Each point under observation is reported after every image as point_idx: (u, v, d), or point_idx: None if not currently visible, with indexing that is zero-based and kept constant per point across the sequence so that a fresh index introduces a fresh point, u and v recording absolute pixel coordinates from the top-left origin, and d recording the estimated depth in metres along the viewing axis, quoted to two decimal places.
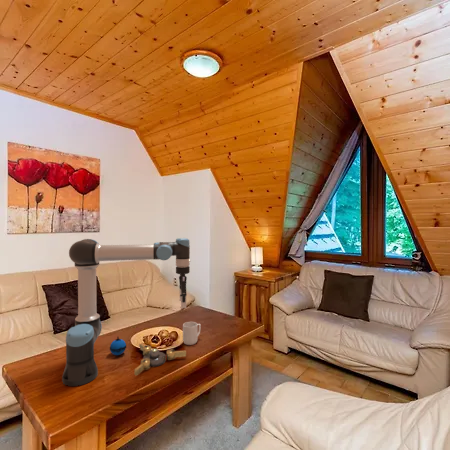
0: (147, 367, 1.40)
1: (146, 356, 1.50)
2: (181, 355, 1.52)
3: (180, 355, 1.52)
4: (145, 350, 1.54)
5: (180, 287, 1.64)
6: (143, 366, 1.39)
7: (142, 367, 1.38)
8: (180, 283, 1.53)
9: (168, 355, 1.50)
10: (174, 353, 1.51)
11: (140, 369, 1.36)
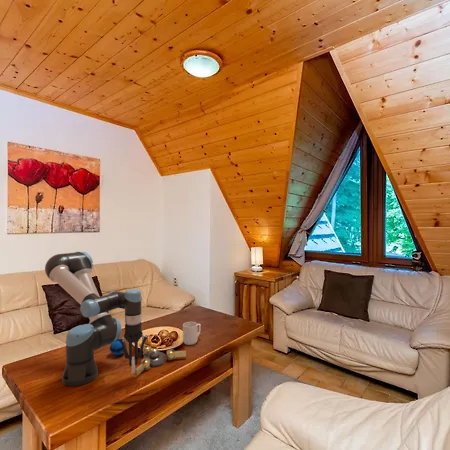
0: (147, 367, 1.40)
1: (146, 356, 1.50)
2: (181, 355, 1.52)
3: (180, 355, 1.52)
4: (145, 350, 1.54)
5: None
6: (143, 366, 1.39)
7: (142, 367, 1.38)
8: None
9: (168, 355, 1.50)
10: (174, 353, 1.51)
11: (140, 369, 1.36)
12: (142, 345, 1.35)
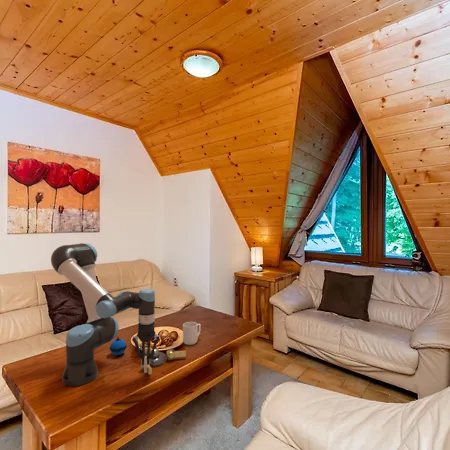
0: (149, 365, 1.42)
1: None
2: (181, 355, 1.52)
3: (180, 355, 1.52)
4: (145, 350, 1.54)
5: None
6: None
7: None
8: None
9: (168, 355, 1.50)
10: (174, 353, 1.51)
11: None
12: (154, 345, 1.36)
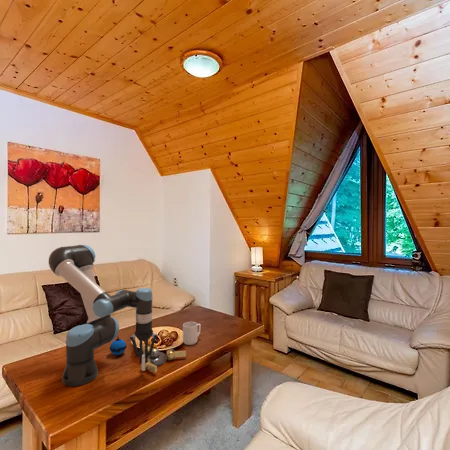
0: None
1: None
2: (181, 355, 1.52)
3: (180, 355, 1.52)
4: None
5: None
6: None
7: None
8: None
9: (168, 355, 1.50)
10: (174, 353, 1.51)
11: None
12: (152, 343, 1.36)
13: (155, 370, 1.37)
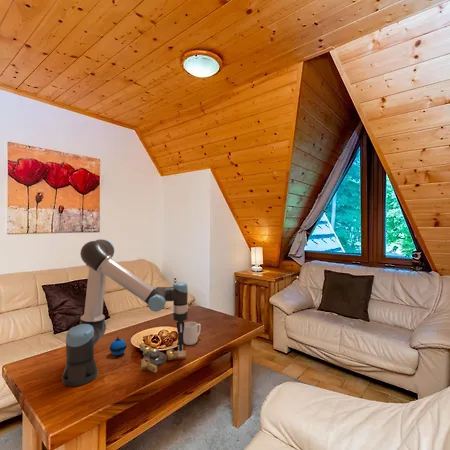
0: None
1: (146, 356, 1.50)
2: None
3: None
4: (145, 350, 1.54)
5: None
6: None
7: None
8: None
9: (168, 355, 1.50)
10: (174, 353, 1.51)
11: None
12: None
13: (155, 370, 1.37)
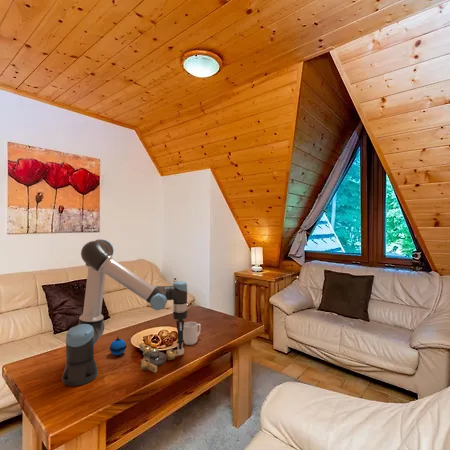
0: None
1: (146, 356, 1.50)
2: None
3: None
4: (145, 350, 1.54)
5: None
6: None
7: None
8: (177, 330, 1.51)
9: (170, 355, 1.49)
10: (175, 352, 1.52)
11: None
12: None
13: (155, 370, 1.37)
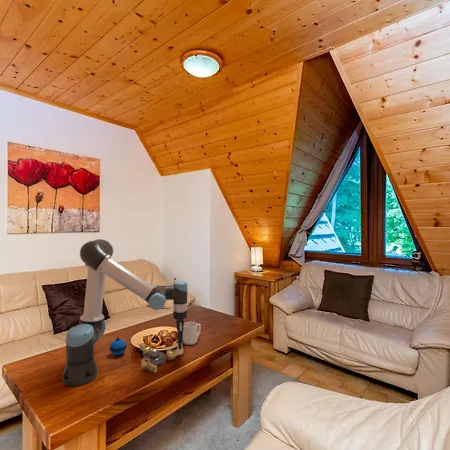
0: None
1: (146, 356, 1.50)
2: None
3: None
4: (145, 350, 1.54)
5: (178, 337, 1.53)
6: None
7: None
8: (177, 330, 1.50)
9: (170, 355, 1.50)
10: (175, 352, 1.52)
11: None
12: None
13: (155, 370, 1.37)
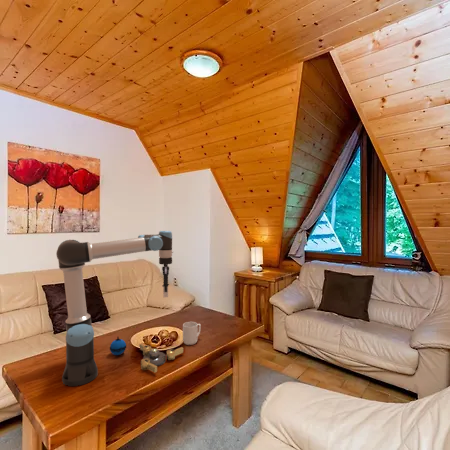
0: None
1: (146, 356, 1.50)
2: (179, 352, 1.55)
3: (179, 352, 1.55)
4: (145, 350, 1.54)
5: None
6: None
7: None
8: (163, 274, 1.65)
9: (170, 355, 1.50)
10: (175, 352, 1.52)
11: None
12: None
13: (155, 370, 1.37)
